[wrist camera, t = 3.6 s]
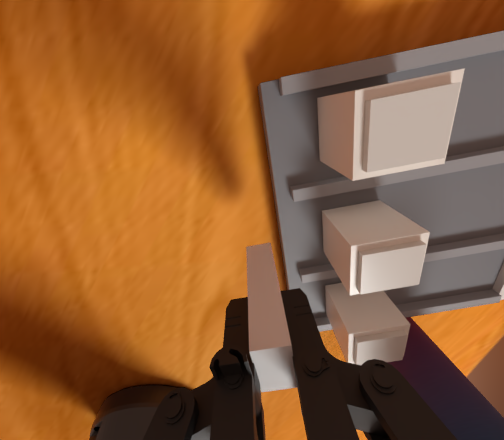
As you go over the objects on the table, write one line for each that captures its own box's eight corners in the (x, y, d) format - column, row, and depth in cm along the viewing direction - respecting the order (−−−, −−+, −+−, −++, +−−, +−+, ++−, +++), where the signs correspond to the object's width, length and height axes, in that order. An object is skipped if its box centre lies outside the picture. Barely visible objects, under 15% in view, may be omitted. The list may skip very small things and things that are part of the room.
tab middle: (323, 251, 17) (353, 300, 12) (321, 210, 15) (354, 250, 11) (375, 242, 17) (424, 288, 12) (379, 200, 15) (436, 236, 11)
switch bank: (290, 310, 22) (296, 335, 20) (257, 87, 14) (261, 81, 11) (489, 277, 22) (522, 298, 19) (592, 17, 13) (678, -6, 10)
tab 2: (326, 314, 20) (350, 371, 16) (325, 285, 18) (351, 339, 14) (370, 306, 20) (407, 362, 15) (372, 277, 18) (414, 329, 14)
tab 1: (319, 160, 14) (357, 183, 9) (317, 97, 12) (360, 89, 8) (383, 148, 14) (452, 165, 9) (389, 83, 12) (475, 65, 8)
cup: (372, 292, 22) (580, 578, 8) (427, 305, 23) (687, 574, 10) (340, 336, 25) (458, 603, 11) (390, 345, 26) (553, 598, 12)
